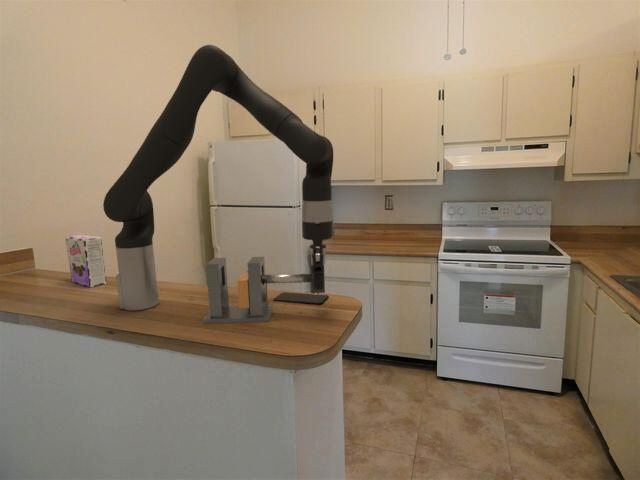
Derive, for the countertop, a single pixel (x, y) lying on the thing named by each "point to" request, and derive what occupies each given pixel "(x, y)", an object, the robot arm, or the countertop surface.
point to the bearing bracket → (220, 299)
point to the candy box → (86, 260)
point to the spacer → (243, 291)
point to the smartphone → (301, 298)
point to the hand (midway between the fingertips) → (318, 286)
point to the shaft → (293, 279)
